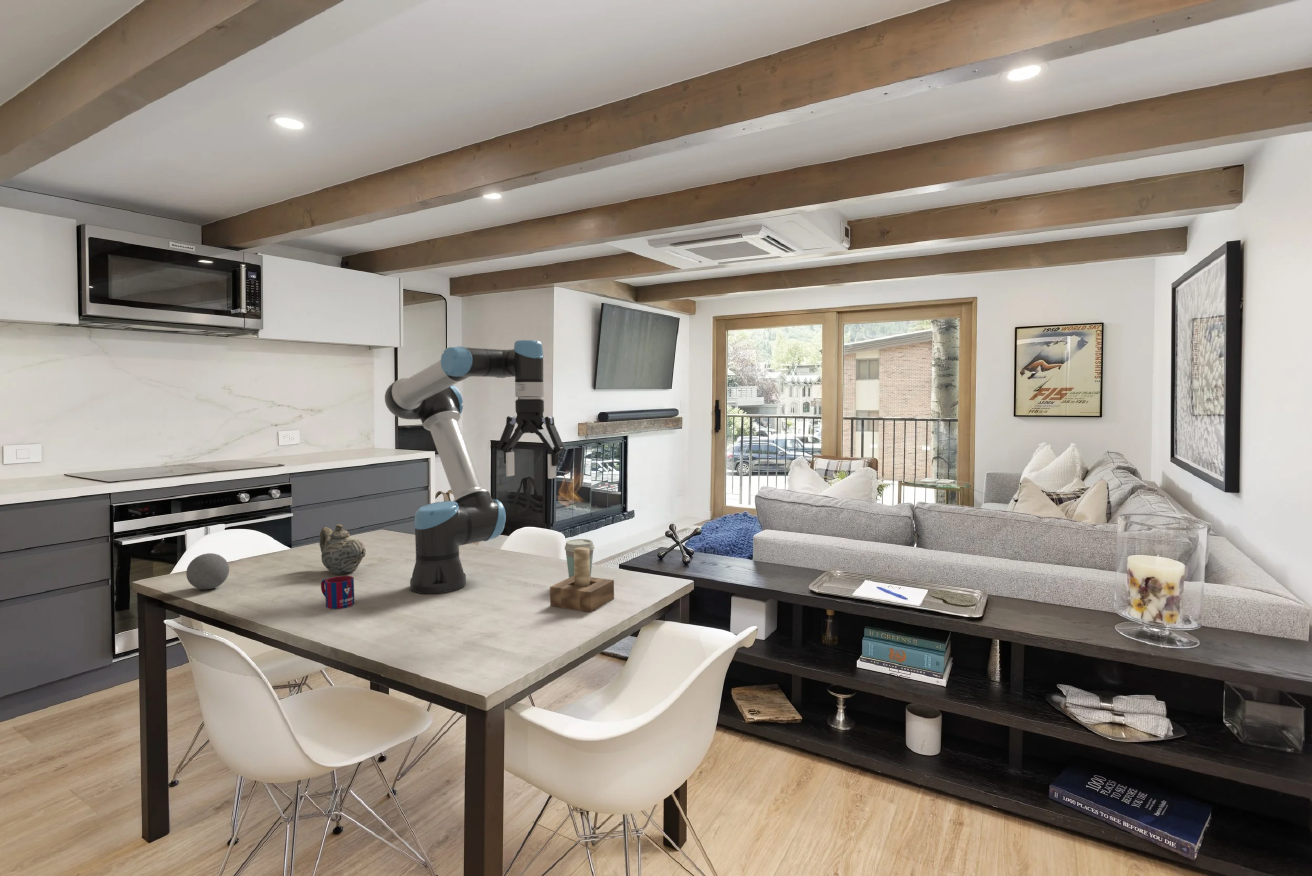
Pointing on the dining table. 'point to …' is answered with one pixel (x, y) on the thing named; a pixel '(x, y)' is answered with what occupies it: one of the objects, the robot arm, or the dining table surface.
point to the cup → (338, 591)
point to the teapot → (340, 550)
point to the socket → (582, 594)
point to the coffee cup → (570, 552)
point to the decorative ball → (207, 571)
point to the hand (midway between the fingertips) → (531, 477)
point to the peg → (582, 567)
